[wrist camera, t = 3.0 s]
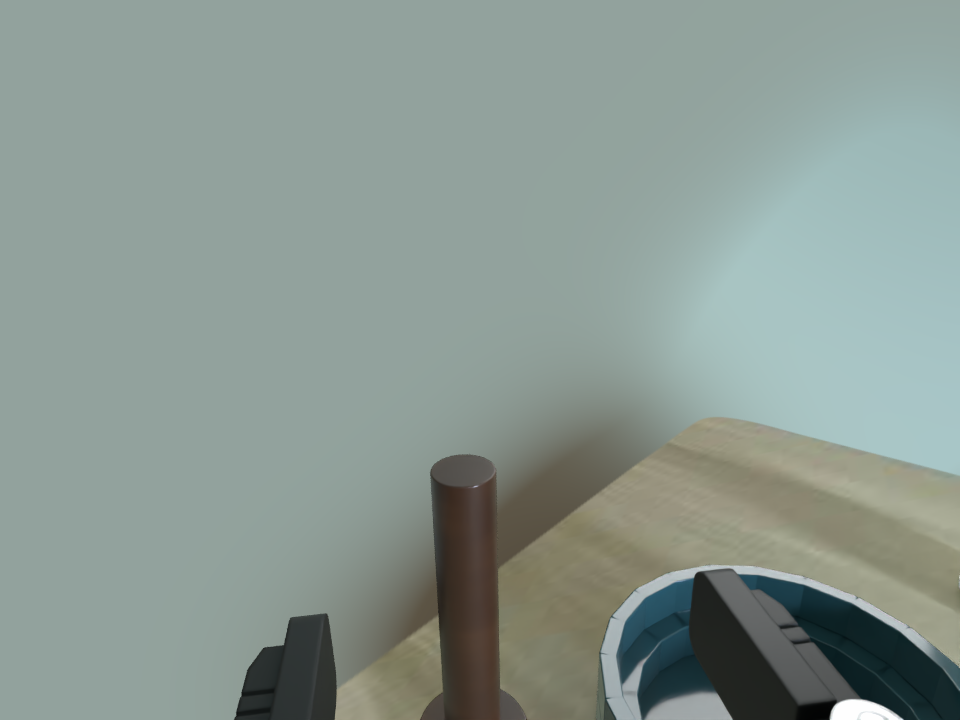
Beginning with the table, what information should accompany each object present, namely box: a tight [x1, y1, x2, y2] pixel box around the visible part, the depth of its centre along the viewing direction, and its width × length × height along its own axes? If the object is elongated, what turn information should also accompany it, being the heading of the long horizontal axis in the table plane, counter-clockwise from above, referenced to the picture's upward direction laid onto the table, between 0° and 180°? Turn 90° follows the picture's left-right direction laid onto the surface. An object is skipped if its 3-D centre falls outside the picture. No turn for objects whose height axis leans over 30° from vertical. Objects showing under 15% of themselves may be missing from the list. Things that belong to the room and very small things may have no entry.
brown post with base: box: [420, 455, 527, 720], centre depth 28 cm, size 5×5×15 cm
